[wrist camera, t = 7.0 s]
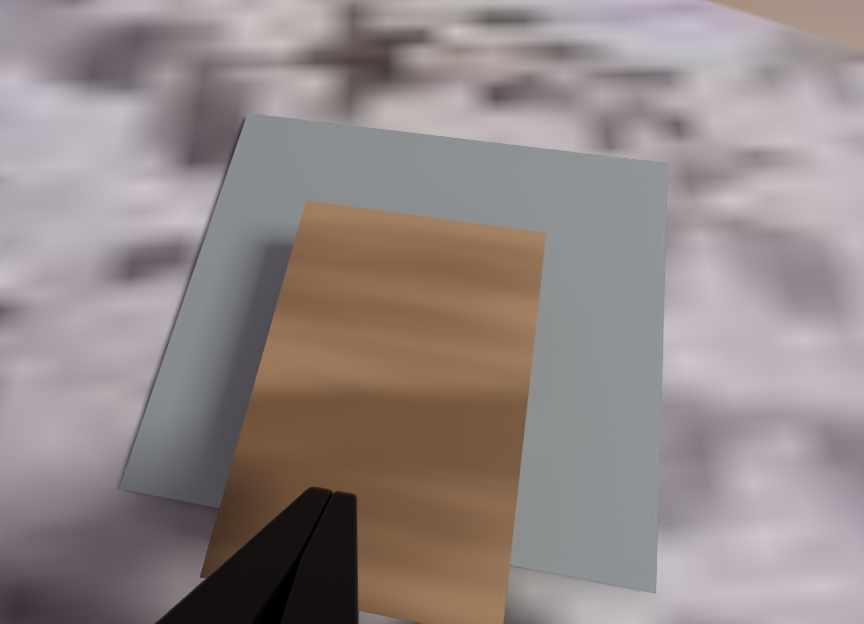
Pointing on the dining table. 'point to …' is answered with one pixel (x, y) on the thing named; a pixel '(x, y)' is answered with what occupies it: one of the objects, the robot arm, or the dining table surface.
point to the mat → (554, 338)
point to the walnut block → (397, 404)
